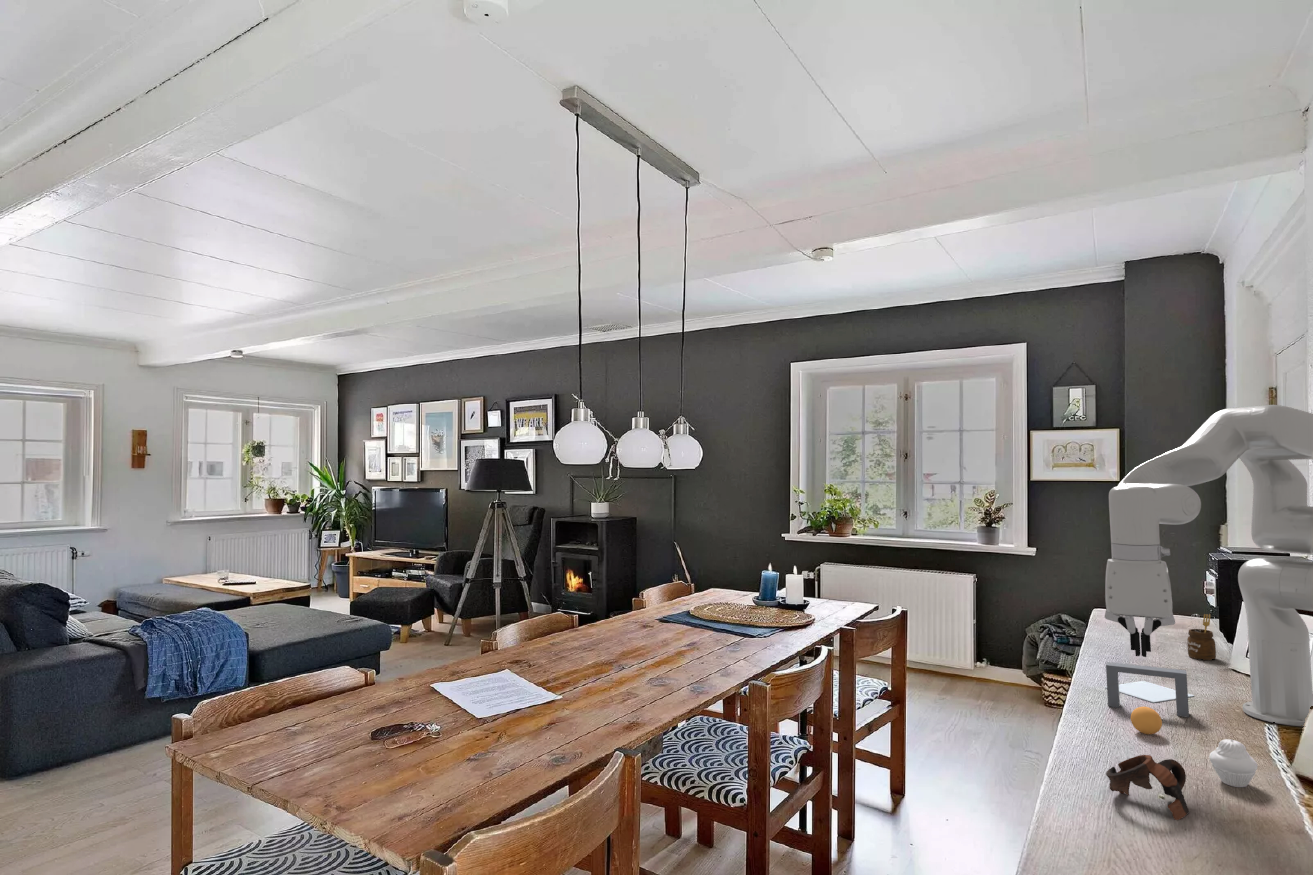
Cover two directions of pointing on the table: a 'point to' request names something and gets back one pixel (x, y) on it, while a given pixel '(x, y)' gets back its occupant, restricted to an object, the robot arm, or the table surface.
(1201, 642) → the utensil holder
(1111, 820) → the table surface
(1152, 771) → the broken clay pot
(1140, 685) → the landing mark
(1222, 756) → the muffin
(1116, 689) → the bridge
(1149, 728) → the ball
